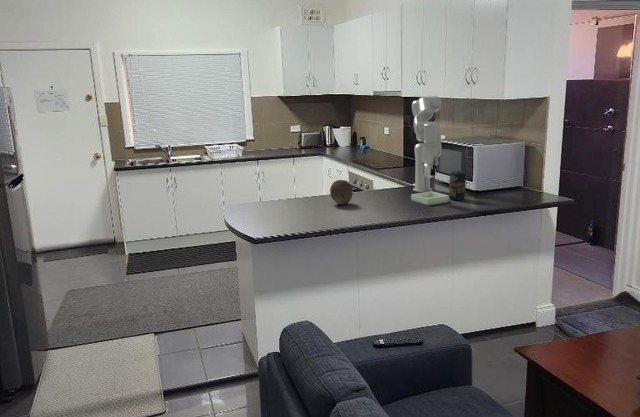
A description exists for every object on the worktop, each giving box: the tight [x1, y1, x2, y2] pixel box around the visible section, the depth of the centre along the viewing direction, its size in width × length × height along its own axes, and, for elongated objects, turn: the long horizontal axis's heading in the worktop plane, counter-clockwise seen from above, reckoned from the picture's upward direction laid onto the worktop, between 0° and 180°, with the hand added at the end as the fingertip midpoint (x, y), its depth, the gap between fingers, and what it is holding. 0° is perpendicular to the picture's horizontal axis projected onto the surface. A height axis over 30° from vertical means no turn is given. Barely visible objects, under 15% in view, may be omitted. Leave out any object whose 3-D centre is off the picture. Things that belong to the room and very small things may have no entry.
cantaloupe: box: [329, 179, 354, 206], centre depth 315 cm, size 14×14×15 cm
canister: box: [448, 170, 467, 201], centre depth 317 cm, size 10×10×18 cm
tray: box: [410, 190, 450, 206], centre depth 316 cm, size 16×16×4 cm
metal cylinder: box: [424, 163, 436, 179], centre depth 311 cm, size 6×6×8 cm
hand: (429, 174), depth 312 cm, fingers closed on metal cylinder, 6 cm apart
